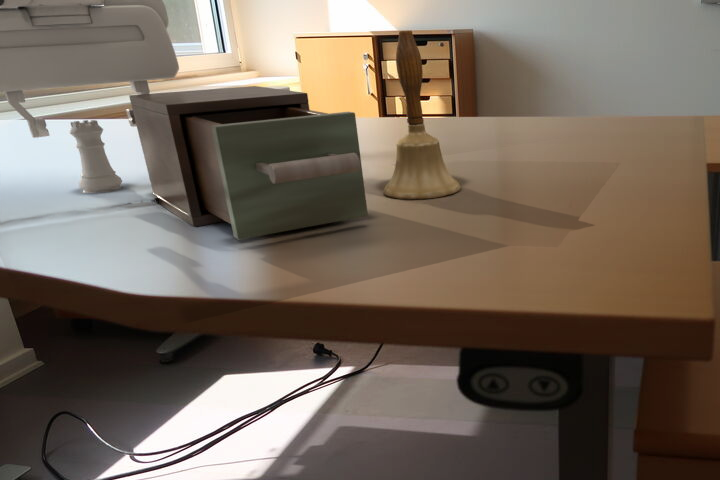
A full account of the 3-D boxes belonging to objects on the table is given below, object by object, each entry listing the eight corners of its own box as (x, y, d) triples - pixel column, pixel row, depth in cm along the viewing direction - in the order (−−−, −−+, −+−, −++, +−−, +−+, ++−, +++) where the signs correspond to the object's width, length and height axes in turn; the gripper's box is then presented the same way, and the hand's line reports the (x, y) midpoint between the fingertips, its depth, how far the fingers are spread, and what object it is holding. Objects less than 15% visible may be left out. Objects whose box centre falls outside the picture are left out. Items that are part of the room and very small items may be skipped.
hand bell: (445, 200, 76) (431, 30, 69) (370, 198, 78) (350, 32, 71) (470, 183, 83) (460, 28, 76) (402, 182, 85) (386, 30, 78)
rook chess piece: (73, 197, 82) (51, 123, 79) (113, 190, 85) (94, 118, 82) (94, 202, 80) (73, 125, 76) (134, 194, 83) (115, 120, 80)
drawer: (393, 225, 63) (381, 116, 59) (258, 252, 57) (235, 132, 53) (309, 193, 76) (294, 102, 73) (192, 212, 70) (169, 113, 66)
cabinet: (324, 204, 76) (307, 93, 71) (193, 227, 68) (165, 104, 64) (272, 184, 86) (255, 85, 82) (155, 201, 79) (128, 95, 75)
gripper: (153, -12, 82) (184, 118, 88) (-75, -9, 71) (-22, 140, 77) (167, -16, 77) (199, 121, 83) (-75, -12, 66) (-19, 146, 72)
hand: (91, 131), depth 80 cm, fingers open, 8 cm apart
